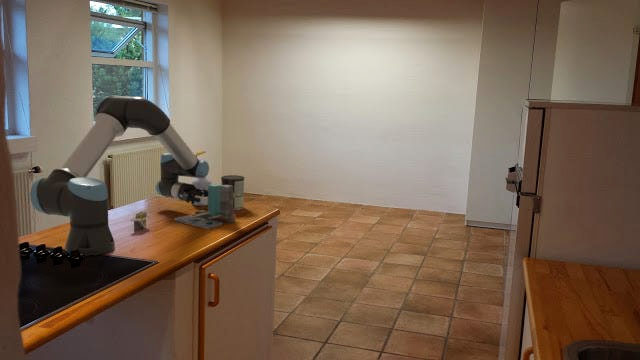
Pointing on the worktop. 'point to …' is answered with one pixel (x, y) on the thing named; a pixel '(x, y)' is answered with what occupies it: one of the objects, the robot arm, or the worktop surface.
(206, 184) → the soap bottle
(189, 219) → the plate
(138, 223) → the potted plant
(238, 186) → the coffee can
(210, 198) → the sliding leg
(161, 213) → the worktop surface
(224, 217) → the grey l-shaped piece
